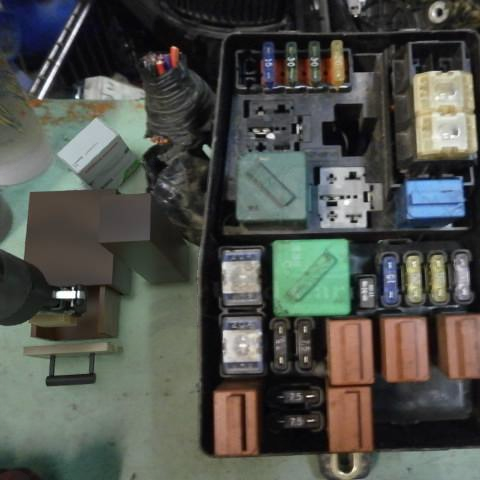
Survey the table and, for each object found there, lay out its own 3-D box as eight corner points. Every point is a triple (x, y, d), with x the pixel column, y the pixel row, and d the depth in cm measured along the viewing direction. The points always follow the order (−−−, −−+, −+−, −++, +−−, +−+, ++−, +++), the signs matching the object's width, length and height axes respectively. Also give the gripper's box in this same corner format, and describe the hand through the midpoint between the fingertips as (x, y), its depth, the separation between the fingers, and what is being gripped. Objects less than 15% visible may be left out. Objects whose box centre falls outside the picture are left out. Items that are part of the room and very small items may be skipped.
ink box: (121, 148, 92) (96, 113, 81) (142, 165, 92) (120, 132, 80) (83, 184, 90) (53, 153, 79) (105, 202, 89) (77, 173, 78)
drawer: (122, 383, 81) (105, 382, 74) (43, 388, 80) (19, 387, 73) (126, 268, 86) (111, 256, 79) (52, 271, 85) (30, 260, 78)
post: (189, 282, 86) (150, 240, 63) (151, 284, 86) (97, 243, 63) (189, 246, 88) (151, 192, 65) (151, 248, 88) (100, 194, 65)
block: (76, 325, 73) (63, 321, 69) (43, 327, 73) (28, 323, 69) (78, 293, 75) (65, 287, 70) (46, 295, 74) (31, 289, 70)
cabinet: (130, 295, 85) (112, 284, 77) (49, 300, 85) (20, 288, 76) (133, 208, 89) (116, 188, 81) (55, 212, 89) (29, 191, 80)
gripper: (-82, 324, 56) (4, 341, 72) (59, 317, 57) (113, 335, 73) (-72, 254, 58) (10, 286, 74) (64, 248, 59) (115, 280, 75)
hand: (60, 310), depth 74 cm, fingers closed on block, 4 cm apart
